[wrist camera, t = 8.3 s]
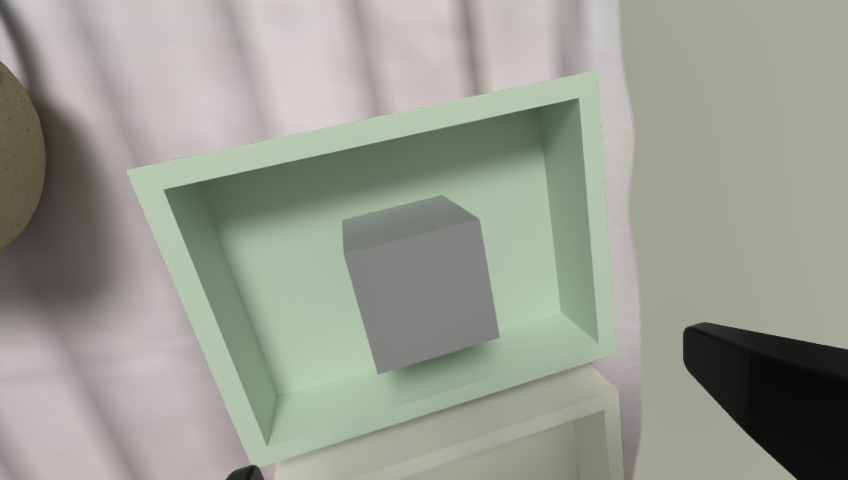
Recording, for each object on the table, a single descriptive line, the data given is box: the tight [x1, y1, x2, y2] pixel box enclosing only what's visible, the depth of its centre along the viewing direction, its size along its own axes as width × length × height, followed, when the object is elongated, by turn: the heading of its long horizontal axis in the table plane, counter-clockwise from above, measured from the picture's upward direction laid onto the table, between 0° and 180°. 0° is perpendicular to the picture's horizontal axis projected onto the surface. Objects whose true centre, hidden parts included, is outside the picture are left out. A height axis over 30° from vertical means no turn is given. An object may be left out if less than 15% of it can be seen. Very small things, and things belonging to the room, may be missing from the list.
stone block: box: [342, 195, 500, 375], centre depth 16 cm, size 4×4×5 cm
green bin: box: [126, 70, 616, 468], centre depth 17 cm, size 12×16×4 cm
